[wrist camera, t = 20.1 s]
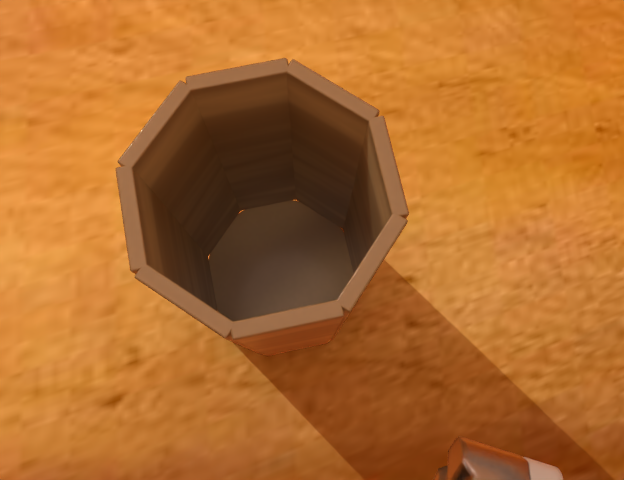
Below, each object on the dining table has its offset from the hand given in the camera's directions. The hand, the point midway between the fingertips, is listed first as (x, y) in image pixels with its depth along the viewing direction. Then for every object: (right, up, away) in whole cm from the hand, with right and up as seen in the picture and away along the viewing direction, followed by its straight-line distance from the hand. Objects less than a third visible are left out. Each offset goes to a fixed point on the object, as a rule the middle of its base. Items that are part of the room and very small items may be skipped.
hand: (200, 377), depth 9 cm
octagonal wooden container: (+1, +1, +15) cm, 15 cm away
